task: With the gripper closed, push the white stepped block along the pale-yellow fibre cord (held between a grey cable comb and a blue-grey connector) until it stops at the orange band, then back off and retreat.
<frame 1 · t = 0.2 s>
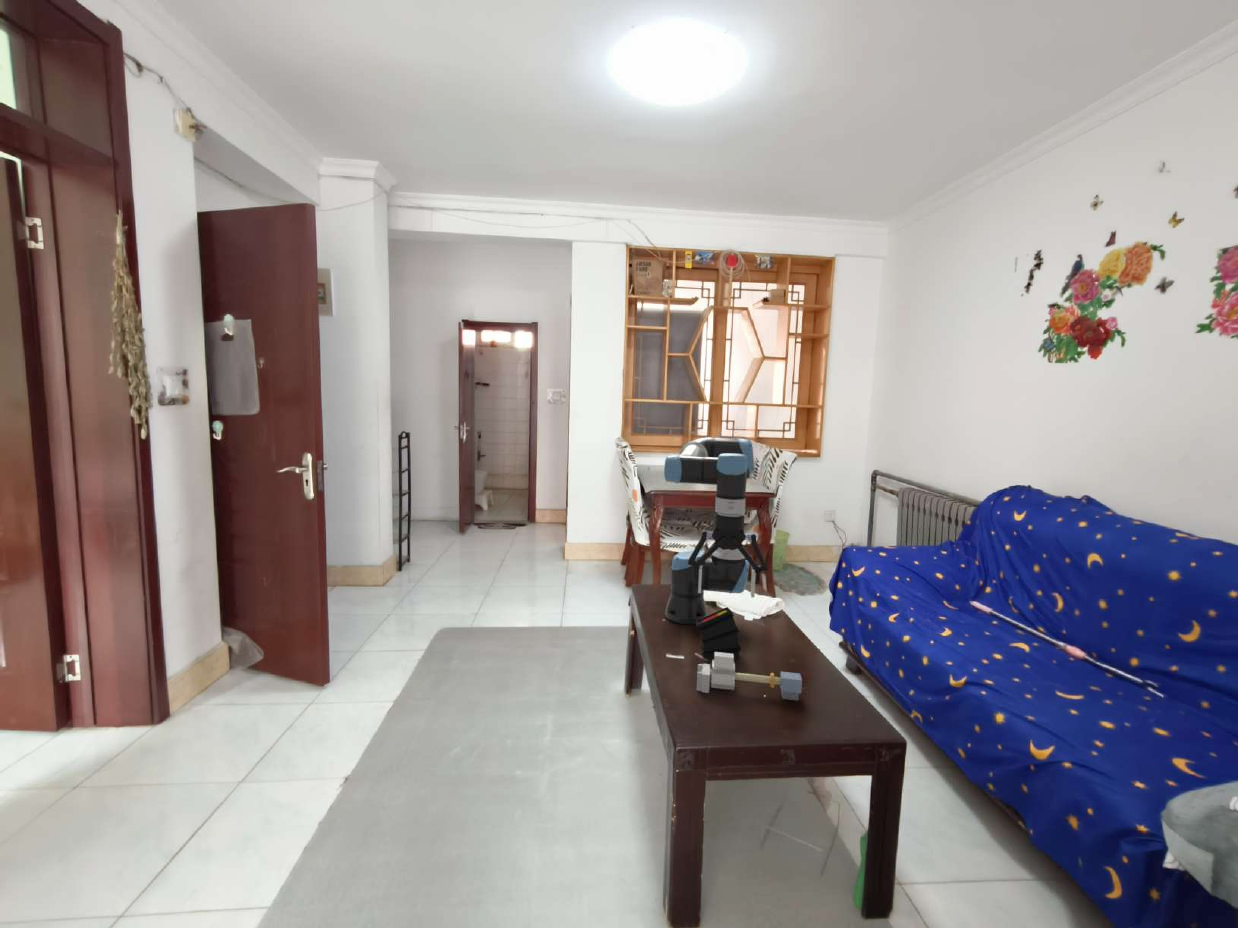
hand: (725, 593, 142), 27 cm above the table, fingers open, 13 cm apart
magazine: (716, 656, 165), on the table
white stepped block: (723, 669, 145), point 6 cm above the table, slide at 0.0 cm
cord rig: (747, 691, 145), on the table
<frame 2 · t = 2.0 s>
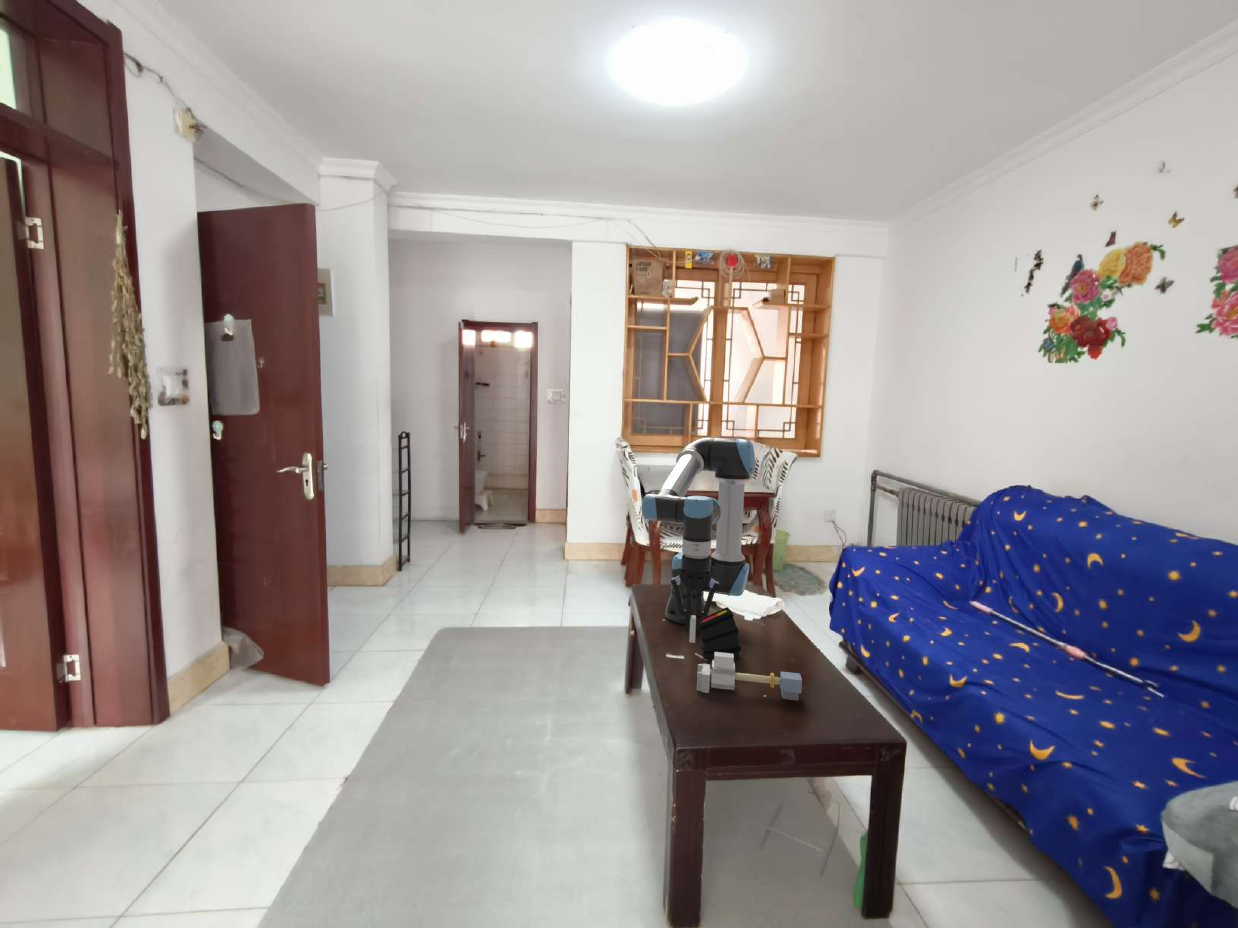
hand: (692, 640, 146), 13 cm above the table, fingers closed
nothing on the table moved.
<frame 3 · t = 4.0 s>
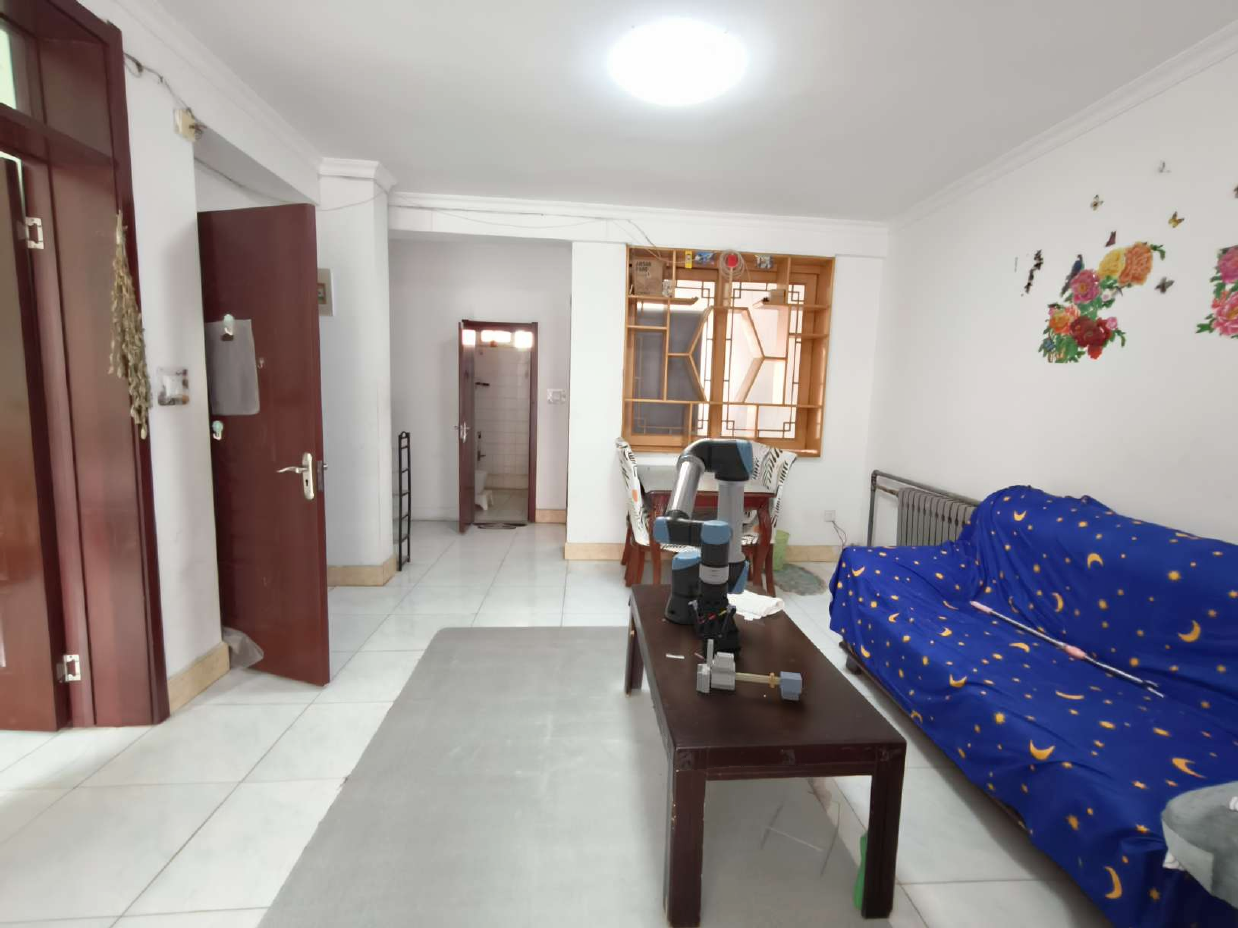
hand: (709, 664, 146), 6 cm above the table, fingers closed
white stepped block: (723, 669, 145), point 6 cm above the table, slide at 0.0 cm, touching gripper
everything else where it was.
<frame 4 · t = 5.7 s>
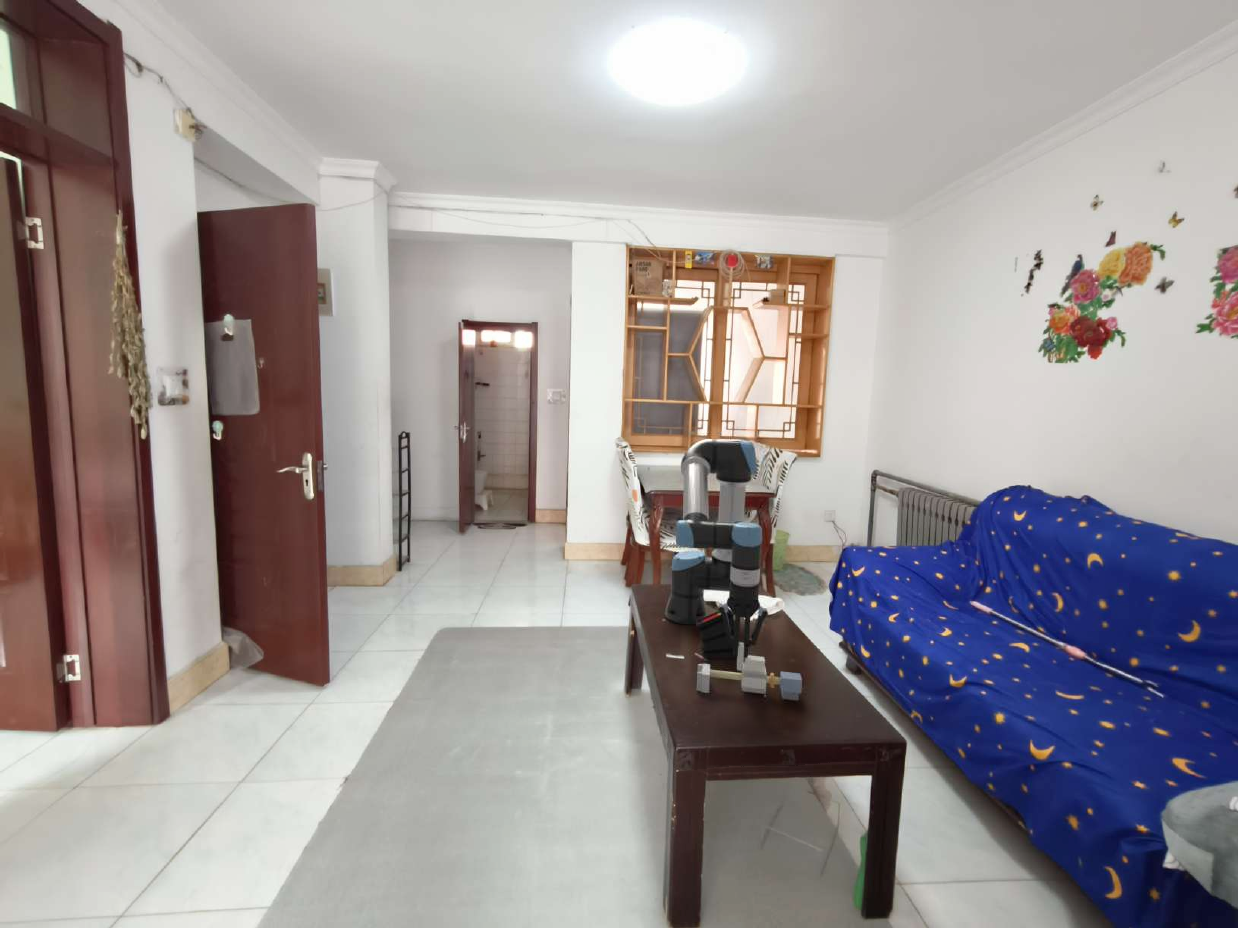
hand: (739, 667, 144), 6 cm above the table, fingers closed
white stepped block: (753, 672, 144), point 5 cm above the table, slide at 8.0 cm, touching gripper
everything else where it was.
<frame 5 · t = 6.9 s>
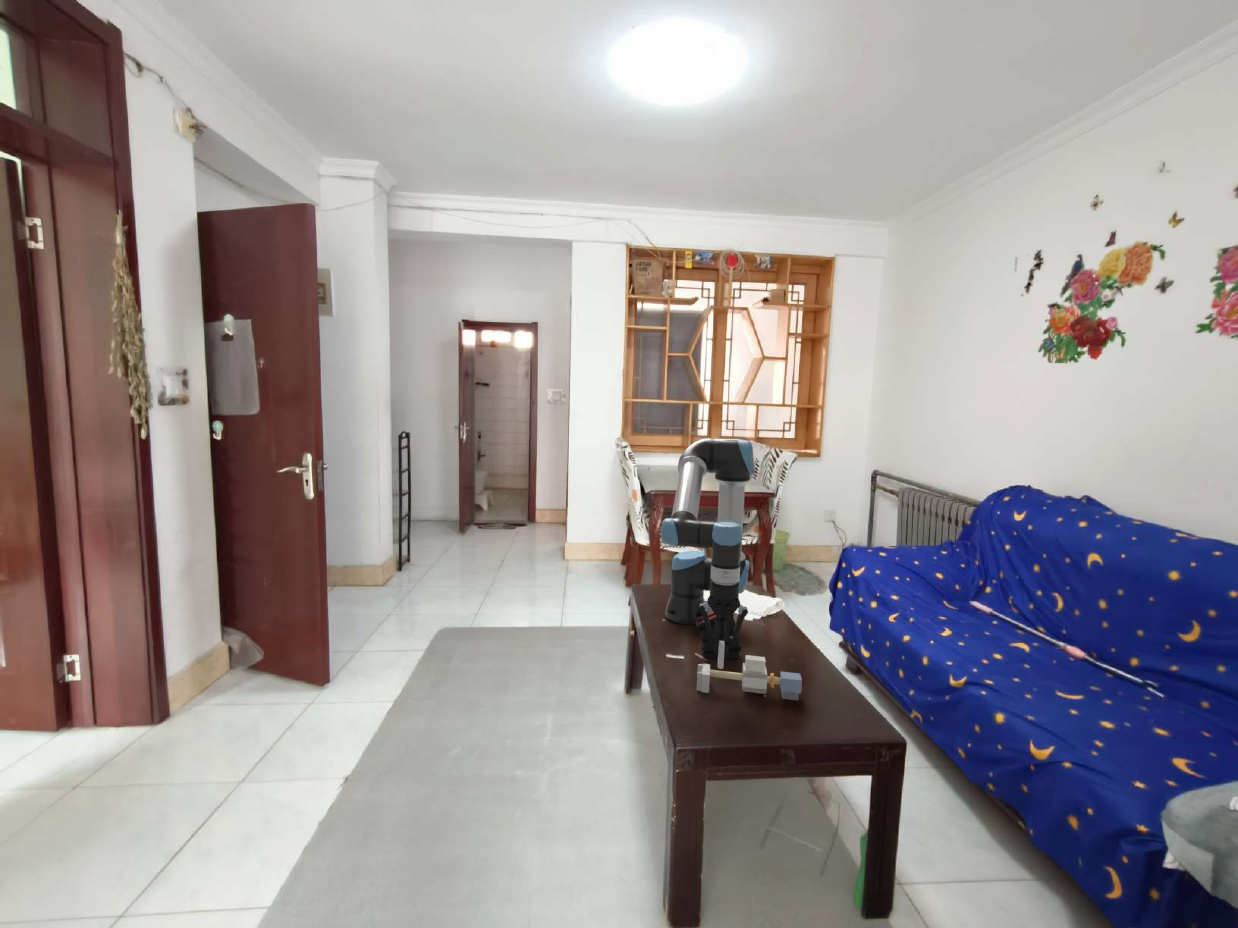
hand: (720, 665, 146), 6 cm above the table, fingers closed
white stepped block: (754, 672, 144), point 6 cm above the table, slide at 8.2 cm
everything else where it was.
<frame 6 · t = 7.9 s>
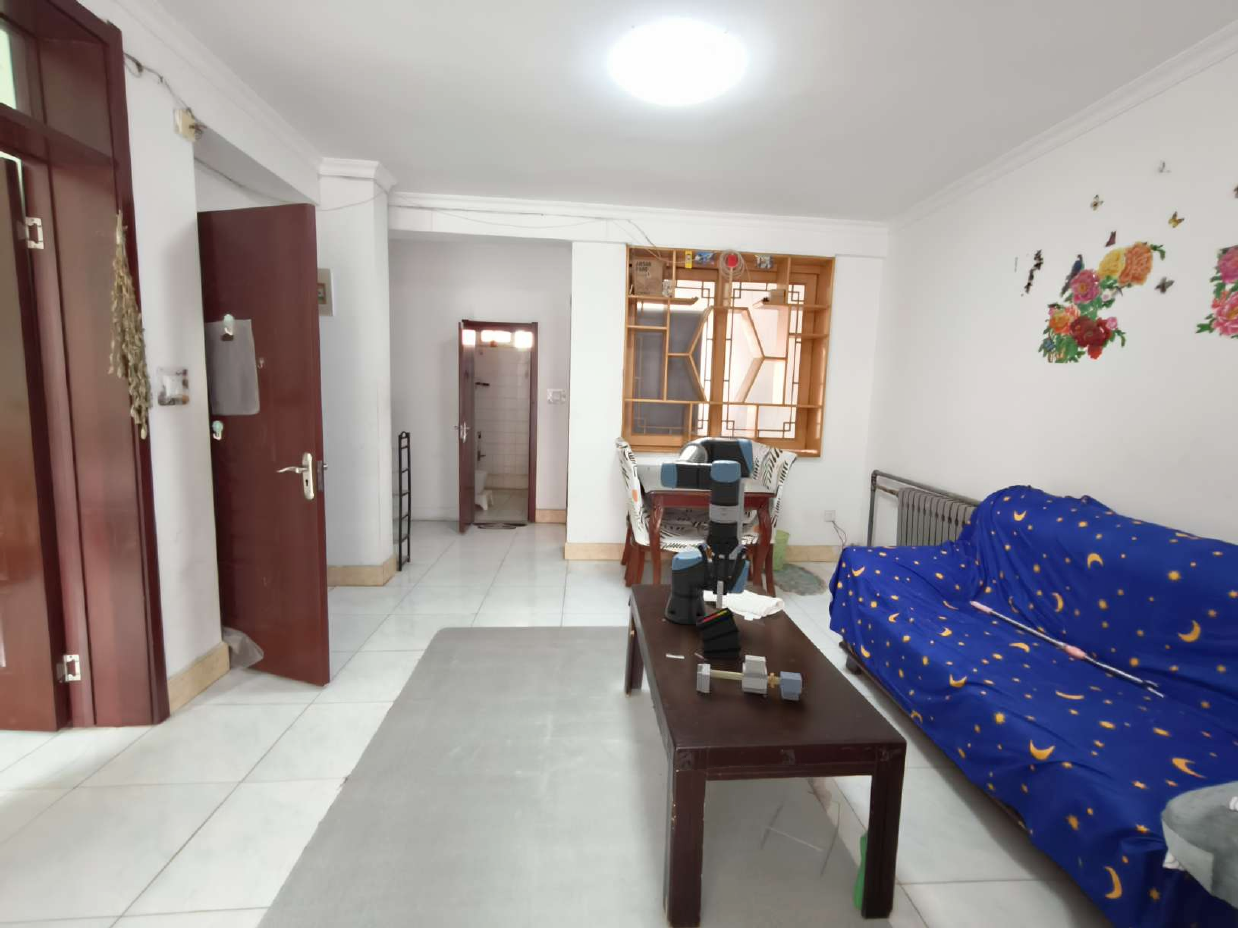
hand: (719, 606, 145), 23 cm above the table, fingers closed
nothing on the table moved.
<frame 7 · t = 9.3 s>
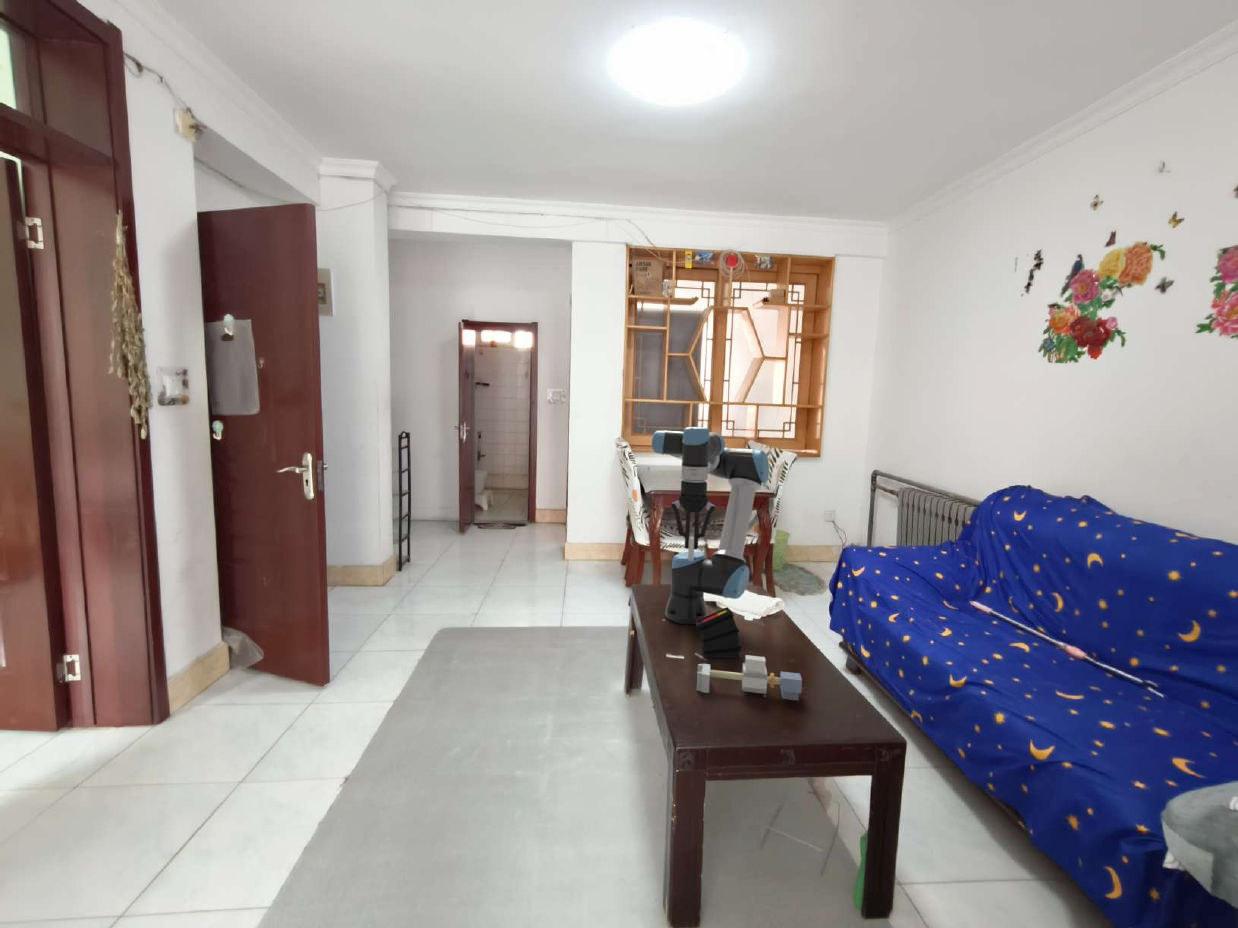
hand: (690, 559, 160), 30 cm above the table, fingers closed
nothing on the table moved.
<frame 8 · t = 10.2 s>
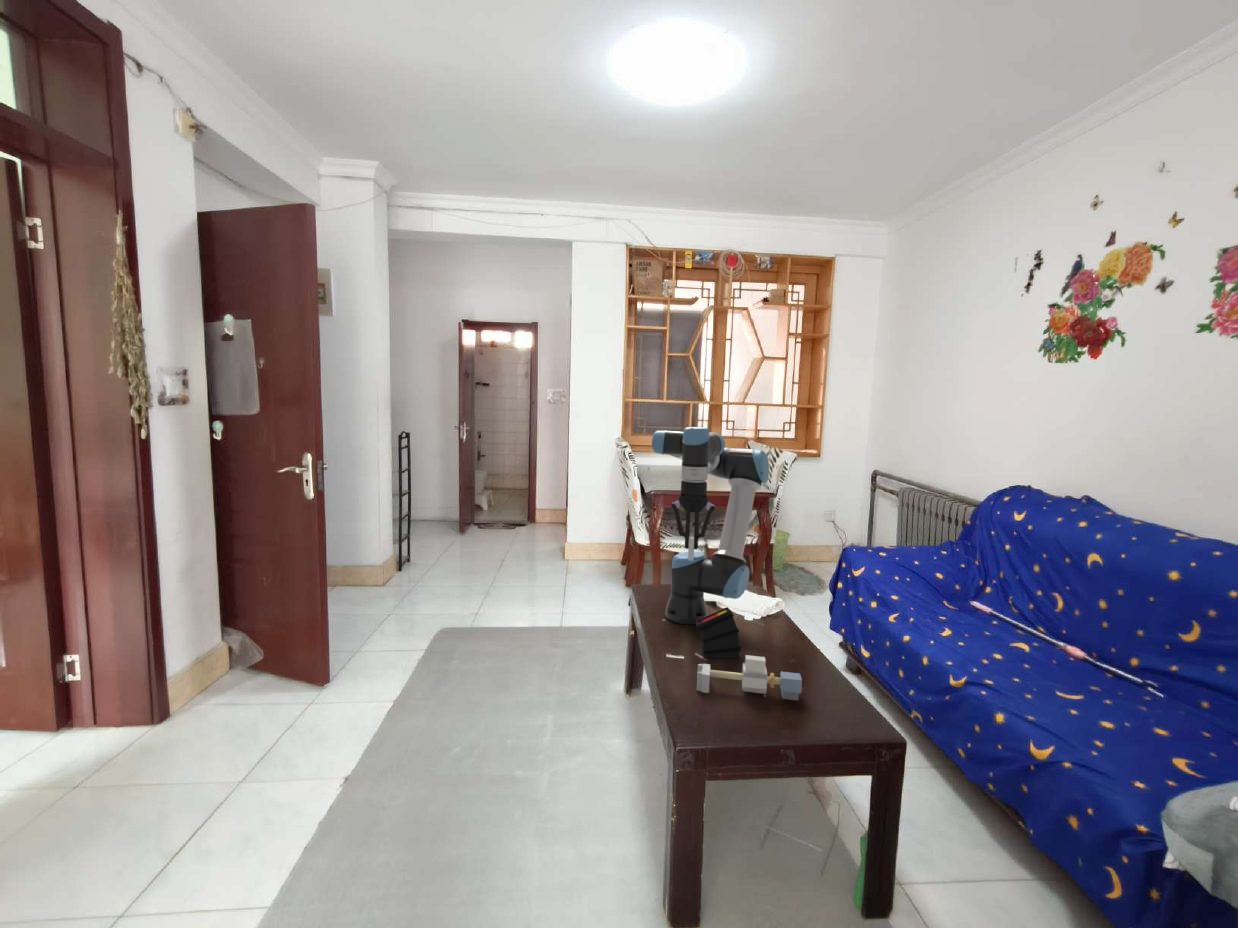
hand: (690, 559, 160), 30 cm above the table, fingers closed
nothing on the table moved.
at the end: white stepped block slide at 8.2 cm; the gripper is holding nothing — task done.
